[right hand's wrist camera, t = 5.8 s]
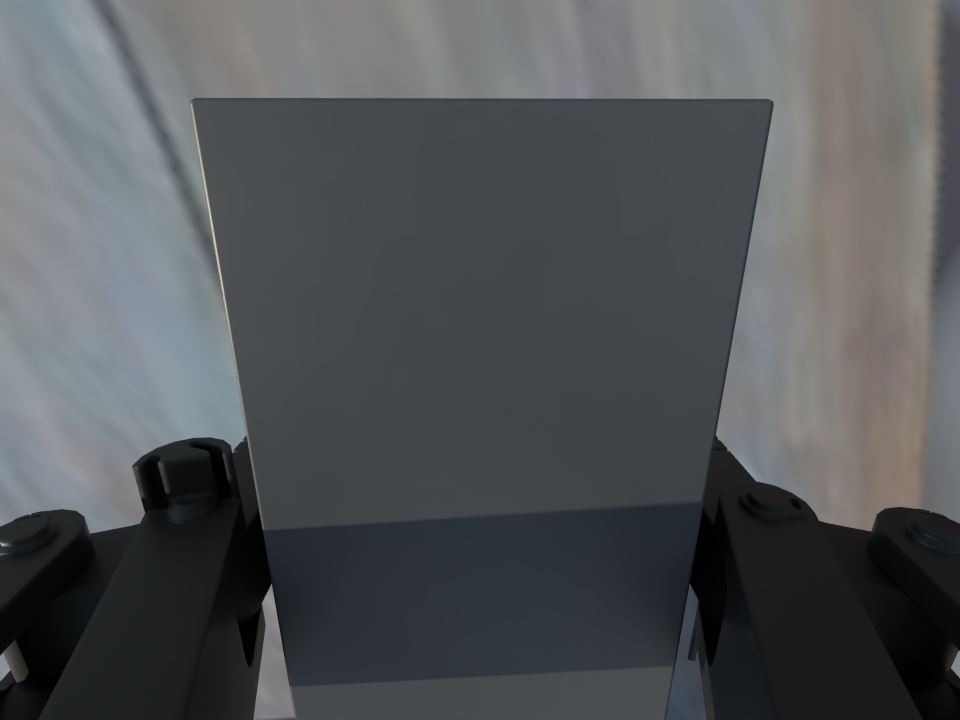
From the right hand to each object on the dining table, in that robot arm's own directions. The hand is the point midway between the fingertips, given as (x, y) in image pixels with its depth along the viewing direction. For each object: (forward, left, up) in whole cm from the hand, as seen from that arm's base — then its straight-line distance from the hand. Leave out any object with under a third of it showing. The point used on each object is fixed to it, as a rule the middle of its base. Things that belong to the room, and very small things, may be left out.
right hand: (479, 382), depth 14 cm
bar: (+22, +24, -1) cm, 32 cm away
